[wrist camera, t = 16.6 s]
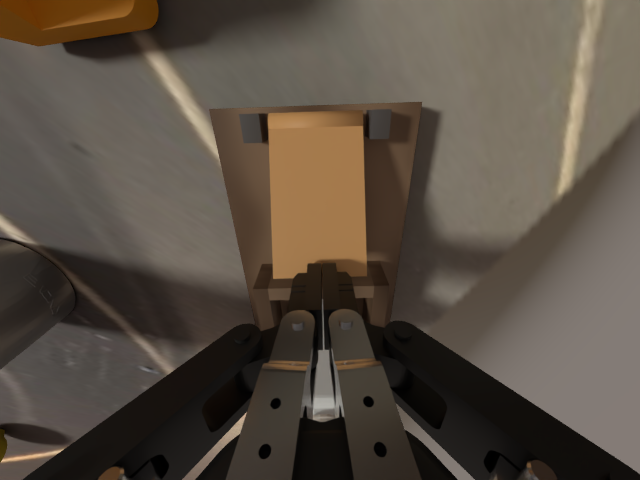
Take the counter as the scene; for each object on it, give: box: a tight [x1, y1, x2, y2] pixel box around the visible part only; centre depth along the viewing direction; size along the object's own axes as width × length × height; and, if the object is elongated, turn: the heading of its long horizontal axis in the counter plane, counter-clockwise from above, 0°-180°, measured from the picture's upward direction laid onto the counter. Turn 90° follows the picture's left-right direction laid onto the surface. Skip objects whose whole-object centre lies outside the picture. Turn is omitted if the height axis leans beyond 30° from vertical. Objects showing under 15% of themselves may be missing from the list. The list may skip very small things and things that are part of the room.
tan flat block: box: [268, 110, 367, 279], centre depth 13 cm, size 5×9×1 cm, turn 2°
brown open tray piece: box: [209, 102, 422, 331], centre depth 18 cm, size 12×20×5 cm, turn 2°
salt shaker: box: [313, 299, 335, 422], centre depth 16 cm, size 5×5×11 cm
